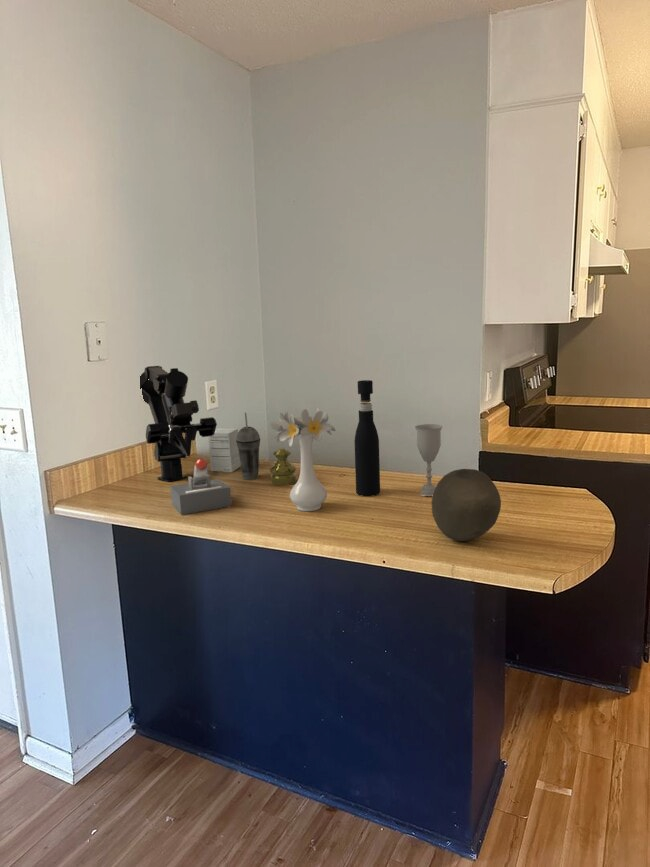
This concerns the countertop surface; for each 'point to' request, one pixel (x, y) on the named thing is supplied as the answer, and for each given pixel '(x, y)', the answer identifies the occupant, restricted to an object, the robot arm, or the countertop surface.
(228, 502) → the switch box
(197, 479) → the switch lever
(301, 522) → the countertop surface
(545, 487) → the countertop surface
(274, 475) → the salt shaker
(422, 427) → the chalice
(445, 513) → the dark brown ball
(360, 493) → the black bottle
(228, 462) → the supplement box
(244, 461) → the beverage cup
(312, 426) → the flower vase
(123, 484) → the countertop surface
